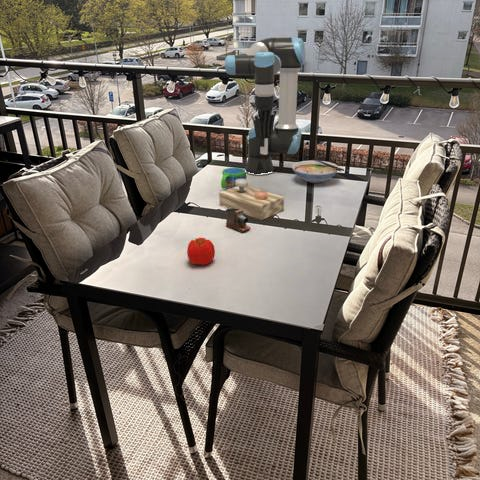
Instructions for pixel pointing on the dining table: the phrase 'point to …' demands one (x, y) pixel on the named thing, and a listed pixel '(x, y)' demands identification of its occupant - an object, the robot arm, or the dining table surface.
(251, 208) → the switch box
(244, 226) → the electronic device
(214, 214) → the dining table surface
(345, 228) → the dining table surface
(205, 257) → the tomato
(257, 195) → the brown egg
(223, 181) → the snack cup
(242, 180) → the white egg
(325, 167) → the ramen bowl
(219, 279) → the dining table surface
